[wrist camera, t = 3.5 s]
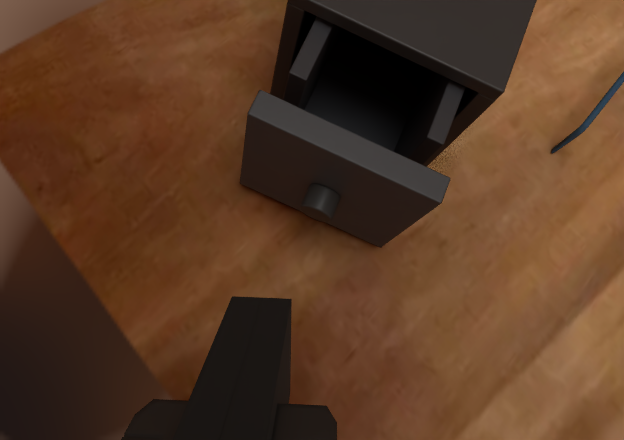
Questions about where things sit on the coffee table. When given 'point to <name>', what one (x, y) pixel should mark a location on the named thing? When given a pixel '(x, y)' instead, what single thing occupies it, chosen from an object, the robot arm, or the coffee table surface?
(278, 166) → the pulled-out drawer
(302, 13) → the dark grey drawer box
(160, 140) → the coffee table surface
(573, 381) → the coffee table surface
